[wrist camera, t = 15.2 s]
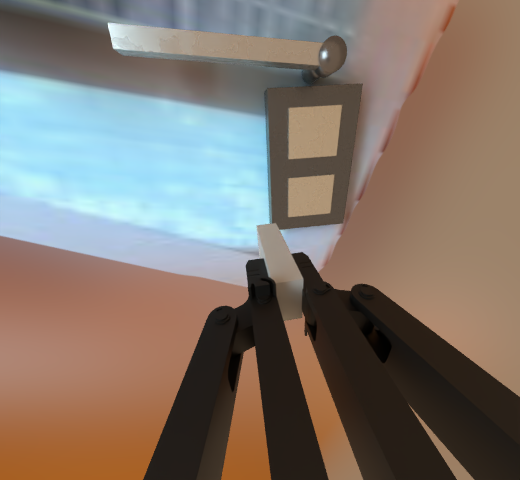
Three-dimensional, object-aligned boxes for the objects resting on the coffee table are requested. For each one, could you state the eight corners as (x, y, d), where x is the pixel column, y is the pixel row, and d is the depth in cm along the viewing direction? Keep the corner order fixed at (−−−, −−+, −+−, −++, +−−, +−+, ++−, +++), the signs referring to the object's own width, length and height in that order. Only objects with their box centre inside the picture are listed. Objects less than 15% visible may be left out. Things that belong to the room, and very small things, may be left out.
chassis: (263, 65, 30) (269, 52, 25) (355, 61, 31) (377, 48, 26) (269, 224, 41) (274, 235, 37) (336, 217, 42) (349, 228, 37)
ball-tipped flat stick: (339, 46, 25) (349, 37, 23) (333, 78, 27) (343, 73, 24) (117, 25, 22) (103, 12, 20) (125, 63, 24) (113, 55, 21)
